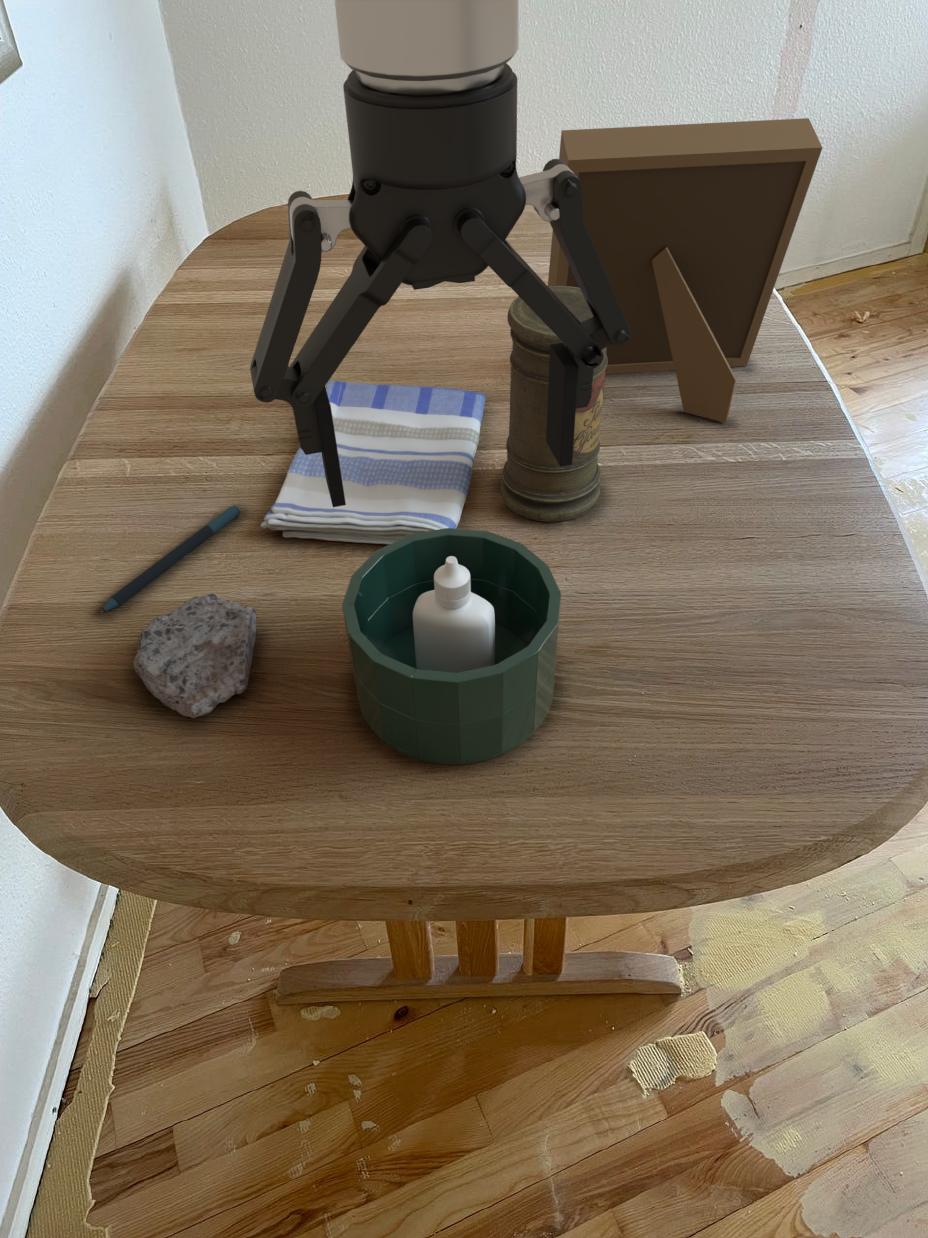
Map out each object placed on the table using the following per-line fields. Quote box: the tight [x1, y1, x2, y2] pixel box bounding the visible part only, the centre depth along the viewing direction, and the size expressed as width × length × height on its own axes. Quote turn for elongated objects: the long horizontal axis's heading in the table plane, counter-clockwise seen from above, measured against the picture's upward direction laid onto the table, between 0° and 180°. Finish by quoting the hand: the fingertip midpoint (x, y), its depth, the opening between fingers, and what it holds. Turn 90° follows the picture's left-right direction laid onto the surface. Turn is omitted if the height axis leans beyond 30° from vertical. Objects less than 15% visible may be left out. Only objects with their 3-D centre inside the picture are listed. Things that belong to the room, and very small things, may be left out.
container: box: [500, 286, 608, 523], centre depth 77 cm, size 9×9×18 cm
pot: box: [341, 528, 562, 766], centre depth 65 cm, size 15×15×9 cm
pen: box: [100, 505, 241, 613], centre depth 78 cm, size 1×16×1 cm, turn 146°
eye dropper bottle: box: [413, 556, 495, 673], centre depth 63 cm, size 4×6×12 cm
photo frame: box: [547, 117, 823, 423], centre depth 87 cm, size 15×22×25 cm
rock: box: [133, 593, 258, 719], centre depth 68 cm, size 9×11×4 cm
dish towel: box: [260, 380, 487, 545], centre depth 86 cm, size 17×24×3 cm
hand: (449, 472), depth 54 cm, fingers open, 13 cm apart
